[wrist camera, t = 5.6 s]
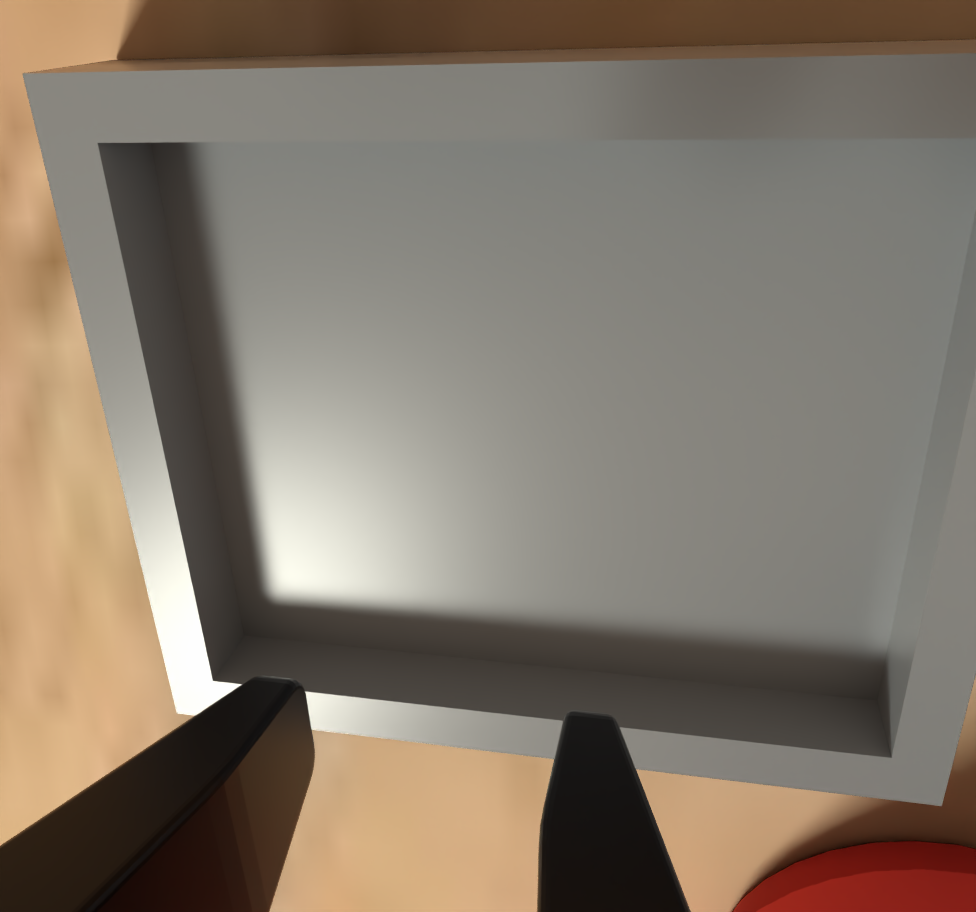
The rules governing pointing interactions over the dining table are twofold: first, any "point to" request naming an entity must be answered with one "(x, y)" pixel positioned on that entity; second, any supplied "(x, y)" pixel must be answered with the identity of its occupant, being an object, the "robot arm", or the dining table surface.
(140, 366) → the tray
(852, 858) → the canned food
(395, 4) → the dining table surface
